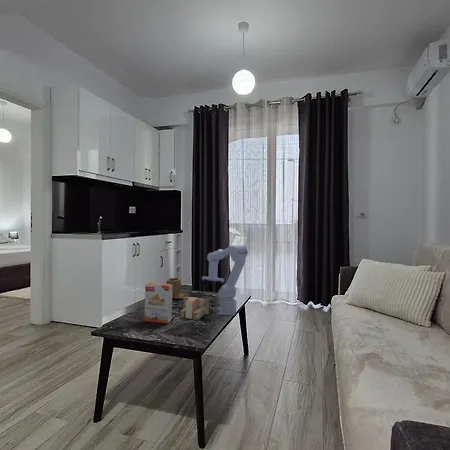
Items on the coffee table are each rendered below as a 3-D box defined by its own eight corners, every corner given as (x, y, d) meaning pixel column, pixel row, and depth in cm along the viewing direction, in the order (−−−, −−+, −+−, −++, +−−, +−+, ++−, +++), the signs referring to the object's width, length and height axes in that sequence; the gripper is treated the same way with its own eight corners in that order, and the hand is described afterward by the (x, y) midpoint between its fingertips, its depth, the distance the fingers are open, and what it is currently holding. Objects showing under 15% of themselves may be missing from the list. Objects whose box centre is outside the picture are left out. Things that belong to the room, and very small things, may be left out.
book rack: (208, 313, 194) (209, 299, 194) (201, 320, 181) (201, 304, 181) (184, 311, 198) (184, 296, 198) (175, 317, 185) (175, 302, 185)
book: (197, 314, 193) (198, 297, 193) (191, 319, 183) (192, 301, 183) (191, 313, 194) (192, 297, 194) (185, 318, 184) (185, 301, 184)
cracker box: (143, 322, 175) (144, 284, 175) (148, 318, 181) (149, 282, 181) (167, 324, 172) (168, 285, 172) (171, 320, 178) (172, 283, 178)
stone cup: (162, 299, 226) (163, 278, 226) (169, 295, 238) (170, 275, 238) (183, 301, 223) (183, 279, 222) (188, 297, 234) (189, 277, 234)
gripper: (200, 271, 206) (199, 291, 206) (221, 273, 201) (220, 294, 201) (205, 269, 213) (204, 289, 213) (225, 271, 207) (224, 292, 208)
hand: (212, 291), depth 207 cm, fingers open, 7 cm apart
